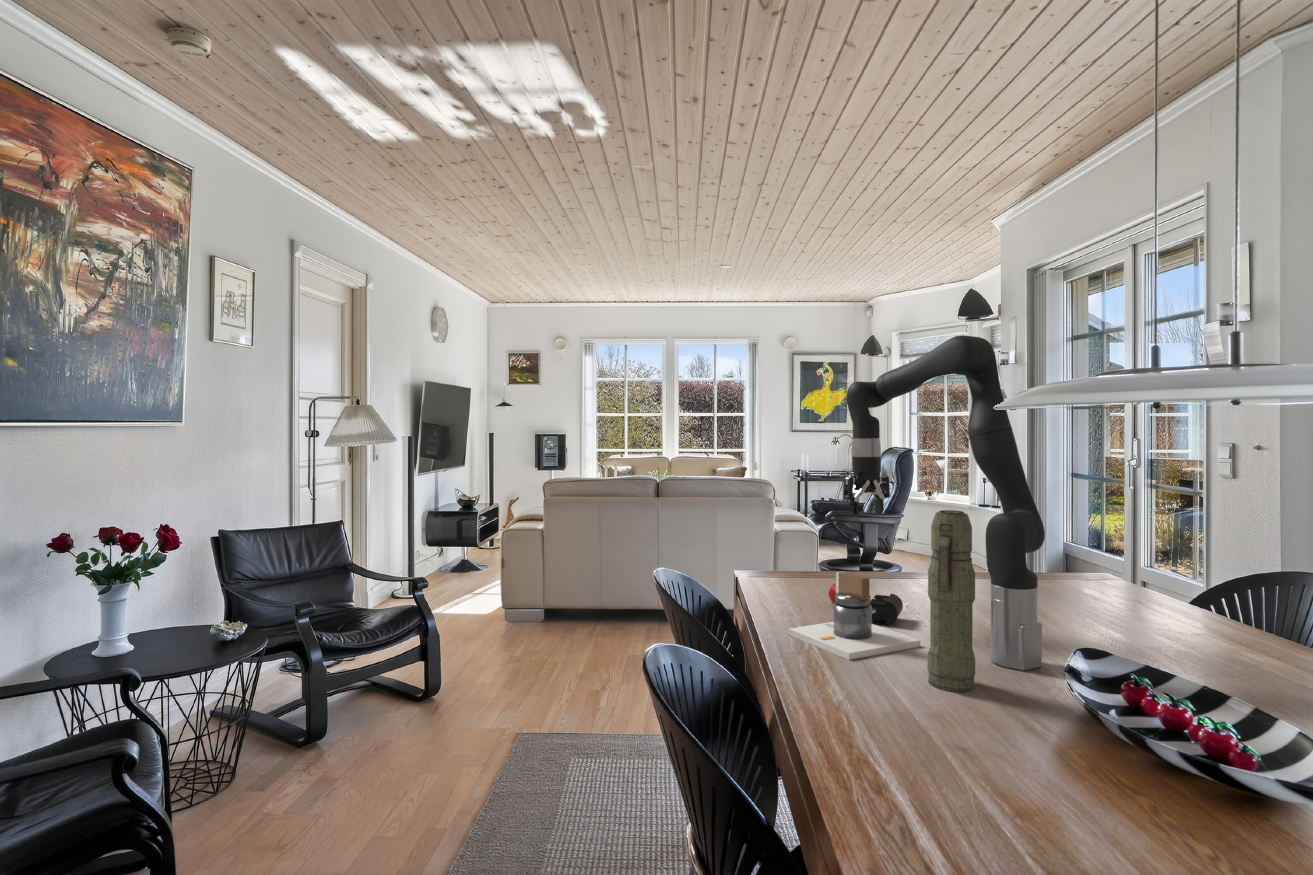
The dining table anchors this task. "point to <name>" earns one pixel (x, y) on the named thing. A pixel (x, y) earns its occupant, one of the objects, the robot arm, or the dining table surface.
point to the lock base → (854, 646)
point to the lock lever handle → (852, 590)
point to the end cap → (886, 609)
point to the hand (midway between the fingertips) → (866, 514)
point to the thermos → (951, 603)
